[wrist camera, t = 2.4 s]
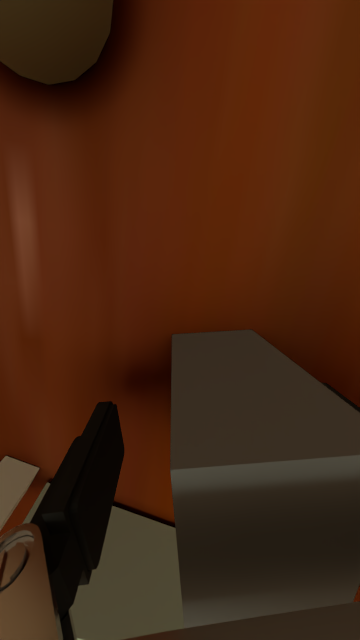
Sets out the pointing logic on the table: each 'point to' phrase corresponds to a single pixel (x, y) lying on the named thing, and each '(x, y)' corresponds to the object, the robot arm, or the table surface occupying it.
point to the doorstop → (260, 481)
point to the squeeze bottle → (53, 37)
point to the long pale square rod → (129, 581)
